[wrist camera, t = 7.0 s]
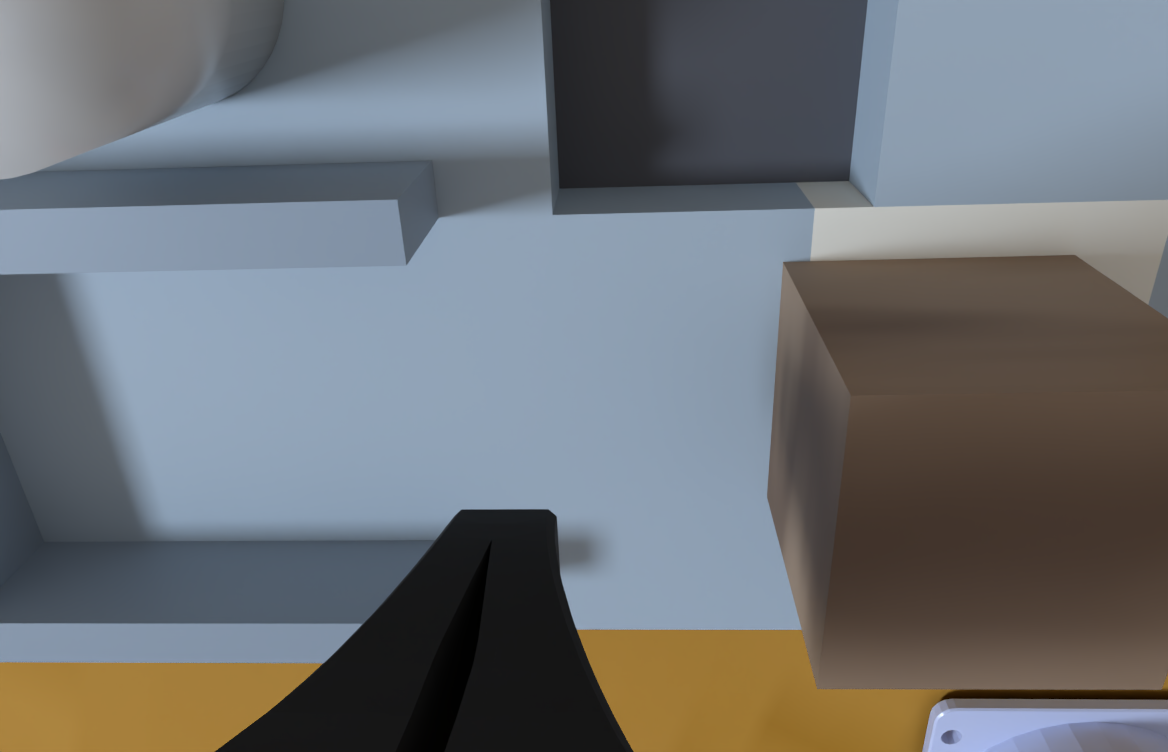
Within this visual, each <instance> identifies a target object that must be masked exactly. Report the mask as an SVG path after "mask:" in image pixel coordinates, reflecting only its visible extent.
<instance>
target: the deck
mask: <svg viewBox="0 0 1168 752" xmlns="http://www.w3.org/2000/svg"><path fill="white" fill-rule="evenodd" d="M1050 255H1076V256H1077V257H1079V258H1080V259H1082V260H1083V261H1085V262H1086V263H1088V264H1089V265H1090V266H1092V267H1093V268H1095V269H1096V270H1098V271H1099V272H1101V273H1102V274H1104V275H1105V276H1107V277H1108V278H1109V279H1111V280H1112V281H1114V282H1115V283H1117V284H1118V285H1120V286H1121V287H1123V288H1124V289H1126V290H1127V291H1129V292H1130V293H1131V294H1133V295H1134V296H1136V297H1137V298H1139V299H1140V300H1142V301H1143V302H1145V303H1146V304H1148V305H1149V306H1151V307H1152V308H1153V309H1155V310H1156V311H1158V312H1159V313H1161V314H1162V315H1164V316H1165V317H1167V318H1168V0H284V11H283V19H282V25H281V29H280V33H279V37H278V40H277V42H276V45H275V47H274V49H273V52H272V54H271V56H270V57H269V59H268V61H267V62H266V64H265V66H264V67H263V69H262V70H261V71H260V72H259V73H258V75H257V76H256V77H255V78H254V79H253V80H252V81H251V82H250V83H249V84H247V85H246V86H245V87H244V88H243V89H241V90H240V91H238V92H236V93H235V94H233V95H232V96H230V97H227V98H225V99H223V100H220V101H218V102H215V103H213V104H210V105H208V106H205V107H202V108H200V109H197V110H195V111H192V112H189V113H187V114H184V115H182V116H179V117H176V118H174V119H171V120H169V121H166V122H163V123H161V124H158V125H156V126H153V127H150V128H148V129H145V130H143V131H140V132H137V133H135V134H132V135H129V136H127V137H124V138H122V139H119V140H116V141H114V142H111V143H109V144H106V145H103V146H101V147H98V148H96V149H93V150H90V151H88V152H85V153H83V154H80V155H77V156H75V157H72V158H70V159H67V160H64V161H62V162H59V163H57V164H54V165H51V166H49V167H46V168H44V169H41V170H38V171H36V172H33V173H30V174H26V175H22V176H18V177H14V178H10V179H0V662H128V663H324V662H325V661H326V660H328V659H329V658H330V657H331V656H332V655H333V654H334V653H335V652H336V651H337V650H338V649H339V648H340V647H341V646H342V645H343V644H344V643H345V642H346V641H347V640H348V639H349V638H350V637H351V636H352V634H353V633H354V632H355V631H356V630H357V629H358V628H359V627H360V626H361V625H362V624H363V623H364V622H365V621H366V620H367V619H368V618H369V617H370V616H371V615H372V614H373V613H374V612H375V611H376V610H377V609H378V607H379V606H380V605H381V604H382V603H383V602H384V601H385V600H386V598H387V597H388V596H389V595H390V594H391V593H392V592H393V590H394V589H395V588H396V587H397V586H398V585H399V584H400V582H401V581H402V580H403V579H404V578H405V577H406V575H407V574H408V573H409V572H410V571H411V570H412V568H413V567H414V566H415V565H416V564H417V562H418V561H419V560H420V559H421V558H422V556H423V555H424V554H425V553H426V551H427V550H428V549H429V548H430V546H431V545H432V544H433V543H434V541H435V540H436V539H437V538H438V536H439V535H440V534H441V532H442V531H443V530H444V529H445V527H446V526H447V525H448V524H449V522H450V521H451V520H452V518H453V517H454V516H455V515H456V514H457V513H458V512H459V511H460V510H461V509H549V510H550V511H551V512H552V513H553V514H555V515H556V516H557V527H558V544H559V560H560V575H561V579H562V584H563V587H564V591H565V594H566V598H567V601H568V605H569V608H570V611H571V615H572V618H573V621H574V624H575V627H576V629H687V630H802V629H801V625H800V621H799V617H798V613H797V610H796V606H795V602H794V598H793V594H792V591H791V587H790V583H789V579H788V575H787V572H786V568H785V564H784V560H783V556H782V552H781V549H780V545H779V541H778V537H777V533H776V530H775V526H774V522H773V518H772V514H771V511H770V507H769V503H768V499H767V488H768V474H769V459H770V445H771V430H772V415H773V401H774V386H775V372H776V357H777V343H778V328H779V313H780V299H781V284H782V270H783V262H804V261H845V260H886V259H927V258H968V257H1009V256H1050Z"/></svg>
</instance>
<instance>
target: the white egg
mask: <svg viewBox="0 0 1168 752" xmlns="http://www.w3.org/2000/svg"><path fill="white" fill-rule="evenodd" d="M283 11H284V0H0V179H10V178H14V177H18V176H22V175H26V174H30V173H33V172H36V171H38V170H41V169H44V168H46V167H49V166H51V165H54V164H57V163H59V162H62V161H64V160H67V159H70V158H72V157H75V156H77V155H80V154H83V153H85V152H88V151H90V150H93V149H96V148H98V147H101V146H103V145H106V144H109V143H111V142H114V141H116V140H119V139H122V138H124V137H127V136H129V135H132V134H135V133H137V132H140V131H143V130H145V129H148V128H150V127H153V126H156V125H158V124H161V123H163V122H166V121H169V120H171V119H174V118H176V117H179V116H182V115H184V114H187V113H189V112H192V111H195V110H197V109H200V108H202V107H205V106H208V105H210V104H213V103H215V102H218V101H220V100H223V99H225V98H227V97H230V96H232V95H233V94H235V93H236V92H238V91H240V90H241V89H243V88H244V87H245V86H246V85H247V84H249V83H250V82H251V81H252V80H253V79H254V78H255V77H256V76H257V75H258V73H259V72H260V71H261V70H262V69H263V67H264V66H265V64H266V62H267V61H268V59H269V57H270V56H271V54H272V52H273V49H274V47H275V45H276V42H277V40H278V37H279V33H280V29H281V25H282V19H283Z"/></svg>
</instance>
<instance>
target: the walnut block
mask: <svg viewBox="0 0 1168 752" xmlns="http://www.w3.org/2000/svg"><path fill="white" fill-rule="evenodd" d="M767 499H768V503H769V507H770V511H771V514H772V518H773V522H774V526H775V530H776V533H777V537H778V541H779V545H780V549H781V552H782V556H783V560H784V564H785V568H786V572H787V575H788V579H789V583H790V587H791V591H792V594H793V598H794V602H795V606H796V610H797V613H798V617H799V621H800V625H801V629H802V633H803V636H804V640H805V644H806V648H807V652H808V655H809V659H810V663H811V667H812V671H813V675H814V678H815V682H816V686H817V689H1046V690H1162V687H1163V684H1164V681H1165V679H1166V676H1167V673H1168V318H1167V317H1165V316H1164V315H1162V314H1161V313H1159V312H1158V311H1156V310H1155V309H1153V308H1152V307H1151V306H1149V305H1148V304H1146V303H1145V302H1143V301H1142V300H1140V299H1139V298H1137V297H1136V296H1134V295H1133V294H1131V293H1130V292H1129V291H1127V290H1126V289H1124V288H1123V287H1121V286H1120V285H1118V284H1117V283H1115V282H1114V281H1112V280H1111V279H1109V278H1108V277H1107V276H1105V275H1104V274H1102V273H1101V272H1099V271H1098V270H1096V269H1095V268H1093V267H1092V266H1090V265H1089V264H1088V263H1086V262H1085V261H1083V260H1082V259H1080V258H1079V257H1077V256H1076V255H1050V256H1009V257H968V258H927V259H886V260H845V261H804V262H783V270H782V284H781V299H780V313H779V328H778V343H777V357H776V372H775V386H774V401H773V415H772V430H771V445H770V459H769V474H768V488H767Z"/></svg>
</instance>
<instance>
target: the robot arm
mask: <svg viewBox="0 0 1168 752" xmlns="http://www.w3.org/2000/svg"><path fill="white" fill-rule="evenodd" d="M950 730H951V731H950ZM215 752H633V750H632V749H631V747H630V745H629V743H628V741H627V740H626V738H625V736H624V734H623V732H622V730H621V728H620V726H619V725H618V723H617V721H616V719H615V717H614V715H613V713H612V711H611V709H610V707H609V705H608V703H607V701H606V699H605V697H604V695H603V693H602V691H601V689H600V686H599V684H598V682H597V680H596V677H595V675H594V673H593V671H592V668H591V666H590V663H589V661H588V659H587V656H586V653H585V651H584V648H583V646H582V643H581V640H580V638H579V635H578V633H577V630H576V627H575V624H574V621H573V618H572V615H571V611H570V608H569V605H568V601H567V598H566V594H565V591H564V587H563V584H562V579H561V575H560V560H559V544H558V527H557V516H556V515H555V514H553V513H552V512H551V511H550V510H549V509H461V510H460V511H459V512H458V513H457V514H456V515H455V516H454V517H453V518H452V520H451V521H450V522H449V524H448V525H447V526H446V527H445V529H444V530H443V531H442V532H441V534H440V535H439V536H438V538H437V539H436V540H435V541H434V543H433V544H432V545H431V546H430V548H429V549H428V550H427V551H426V553H425V554H424V555H423V556H422V558H421V559H420V560H419V561H418V562H417V564H416V565H415V566H414V567H413V568H412V570H411V571H410V572H409V573H408V574H407V575H406V577H405V578H404V579H403V580H402V581H401V582H400V584H399V585H398V586H397V587H396V588H395V589H394V590H393V592H392V593H391V594H390V595H389V596H388V597H387V598H386V600H385V601H384V602H383V603H382V604H381V605H380V606H379V607H378V609H377V610H376V611H375V612H374V613H373V614H372V615H371V616H370V617H369V618H368V619H367V620H366V621H365V622H364V623H363V624H362V625H361V626H360V627H359V628H358V629H357V630H356V631H355V632H354V633H353V634H352V636H351V637H350V638H349V639H348V640H347V641H346V642H345V643H344V644H343V645H342V646H341V647H340V648H339V649H338V650H337V651H336V652H335V653H334V654H333V655H332V656H331V657H330V658H329V659H328V660H326V661H325V662H324V663H323V664H322V665H321V666H320V667H319V668H318V669H317V670H316V671H315V672H314V673H313V674H311V675H310V676H309V677H308V678H307V679H306V680H305V681H304V682H303V683H301V684H300V685H299V686H298V687H297V688H296V689H295V690H293V691H292V692H291V693H290V694H289V695H288V696H286V697H285V698H284V699H283V700H282V701H281V702H280V703H278V704H277V705H276V706H275V707H274V708H272V709H271V710H270V711H269V712H267V713H266V714H265V715H263V716H262V717H261V718H259V719H258V720H257V721H255V722H254V723H253V724H251V725H250V726H249V727H247V728H246V729H245V730H243V731H242V732H241V733H239V734H238V735H237V736H235V737H234V738H233V739H231V740H230V741H229V742H227V743H226V744H225V745H223V746H222V747H220V748H219V749H218V750H216V751H215ZM922 752H1168V700H1123V699H945V700H943V701H940V702H938V703H937V704H936V705H935V706H934V707H933V708H932V710H931V712H930V717H929V721H928V726H927V731H926V736H925V741H924V746H923V751H922Z"/></svg>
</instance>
